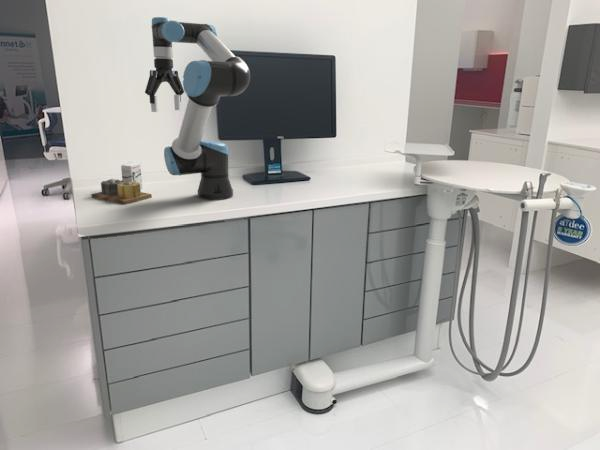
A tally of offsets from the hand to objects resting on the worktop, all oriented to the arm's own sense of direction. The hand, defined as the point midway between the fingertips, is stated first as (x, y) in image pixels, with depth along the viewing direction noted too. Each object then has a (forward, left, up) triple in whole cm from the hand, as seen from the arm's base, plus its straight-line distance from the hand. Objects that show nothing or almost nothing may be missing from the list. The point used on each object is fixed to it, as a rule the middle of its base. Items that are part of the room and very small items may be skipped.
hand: (166, 111), depth 204 cm
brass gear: (+3, +21, -33) cm, 39 cm away
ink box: (+14, +9, -35) cm, 39 cm away
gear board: (+8, +21, -35) cm, 41 cm away
